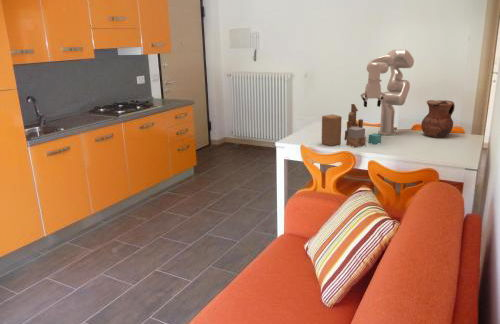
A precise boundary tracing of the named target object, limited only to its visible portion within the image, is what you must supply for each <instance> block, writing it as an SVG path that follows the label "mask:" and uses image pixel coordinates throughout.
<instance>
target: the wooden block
mask: <svg viewBox="0 0 500 324" xmlns="http://www.w3.org/2000/svg"><path fill="white" fill-rule="evenodd" d="M341 143H342V116H341V115H338V114H327V115H322V117H321V144H323V145H326V146H329V147H332V145H333V146H337V145H338V146H339V145H340V144H341Z"/></svg>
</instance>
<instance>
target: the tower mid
mask: <svg viewBox="0 0 500 324" xmlns="http://www.w3.org/2000/svg"><path fill="white" fill-rule="evenodd" d="M348 137H351V138H355V139H358V138H363V137H366V128H365V127H363V128H360V127H352V128H348Z"/></svg>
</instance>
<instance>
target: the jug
mask: <svg viewBox="0 0 500 324" xmlns="http://www.w3.org/2000/svg"><path fill="white" fill-rule="evenodd" d="M426 104H427V106H428V113H427V114H426V116H424V118H423V119H422V121H421V130H422V132H423V134H425V135H426V136H428V137H431V138H444V137H447V136H448V135H449V134H451V132H452V130H453V127H454V121H453V119H452V115H453V113H454V111H455V102H454V101H451V100H446V99H445V100H443V99H442V100H440V99H439V100H436V99H435V100H434V99H429V100H427V101H426Z"/></svg>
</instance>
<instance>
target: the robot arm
mask: <svg viewBox="0 0 500 324" xmlns="http://www.w3.org/2000/svg"><path fill="white" fill-rule="evenodd" d="M414 63H415V59H414V56H412V54H411V53H410V51H409V50H407V49H392V50H390V51H389V52H388V53H387V54H385V55H383V56H380V57H376V58H373V59H371V60H370V61H369V62H368V64H367V66H366V72H367V73H368V78H367V79H368V80H367V83H366V86H365V90H364V92H363V93H361V94H360V97H361V100H362V101H363V107H364V108H367V107H368V99H369V100H370V99H377V101H376V102H377V104H376V105H377V107H379V108H381V112H380V128H379V130H378V131H377V134H379V135H381V136H394V135H396V131H397V130H398V127H397V126H395V110H396V109H395V108H394V106H399V107H400V106H403V105H405V103H406V99H407V97H408V94H409V91H410V87H411V83H410V81H409V80H406V79H403V77H404V75H403V72H402V71H401V70H400V69H410V68H412V67H413V66H414ZM389 68H390V77H389V80H388V83H387V86H386V90H387V91H385V92H382V88H381V82H382V79H381V74H382V75H383V74H386V73H387V72H388V71H389ZM394 126H395V127H394Z"/></svg>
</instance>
